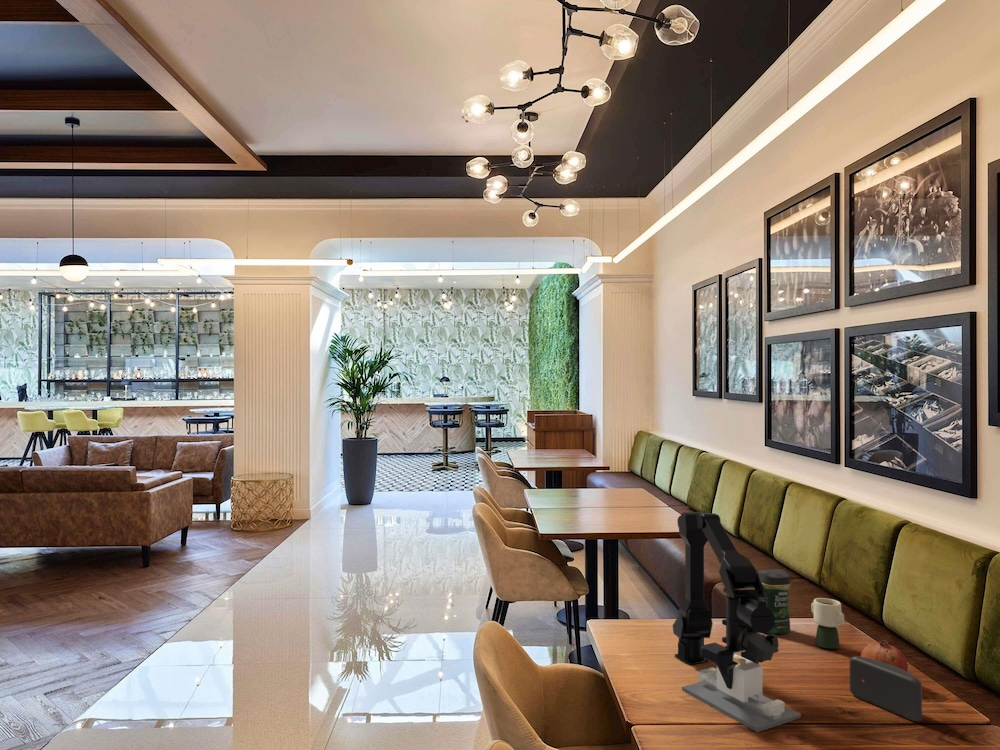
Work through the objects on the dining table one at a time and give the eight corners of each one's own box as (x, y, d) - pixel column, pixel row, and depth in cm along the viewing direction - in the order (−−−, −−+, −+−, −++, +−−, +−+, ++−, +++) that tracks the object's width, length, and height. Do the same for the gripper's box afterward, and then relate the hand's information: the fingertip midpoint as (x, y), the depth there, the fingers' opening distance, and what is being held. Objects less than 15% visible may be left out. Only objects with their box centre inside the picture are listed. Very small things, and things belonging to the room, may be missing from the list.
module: (734, 683, 153) (734, 650, 154) (762, 697, 146) (762, 662, 147) (716, 688, 151) (716, 654, 151) (744, 702, 144) (744, 667, 144)
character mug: (853, 652, 180) (852, 606, 181) (834, 655, 178) (834, 608, 178) (821, 639, 190) (821, 594, 191) (802, 641, 188) (802, 597, 188)
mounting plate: (723, 679, 161) (723, 675, 161) (800, 717, 142) (800, 714, 142) (682, 690, 155) (682, 686, 155) (757, 732, 135) (757, 728, 135)
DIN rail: (712, 680, 159) (712, 666, 159) (785, 717, 140) (785, 702, 141) (697, 683, 157) (697, 670, 157) (769, 722, 138) (769, 707, 138)
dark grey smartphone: (930, 721, 142) (930, 677, 142) (919, 725, 140) (918, 681, 140) (859, 691, 156) (859, 651, 156) (848, 695, 154) (847, 655, 154)
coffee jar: (768, 636, 192) (768, 573, 192) (751, 627, 199) (751, 567, 200) (795, 634, 194) (795, 572, 195) (777, 625, 202) (777, 565, 203)
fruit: (917, 691, 156) (916, 650, 157) (874, 690, 157) (874, 648, 157) (892, 673, 167) (892, 634, 167) (853, 671, 167) (853, 632, 168)
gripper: (738, 635, 138) (738, 709, 137) (796, 622, 147) (796, 692, 146) (699, 619, 148) (699, 688, 147) (755, 608, 156) (755, 673, 156)
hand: (738, 685), depth 149 cm, fingers closed on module, 6 cm apart
